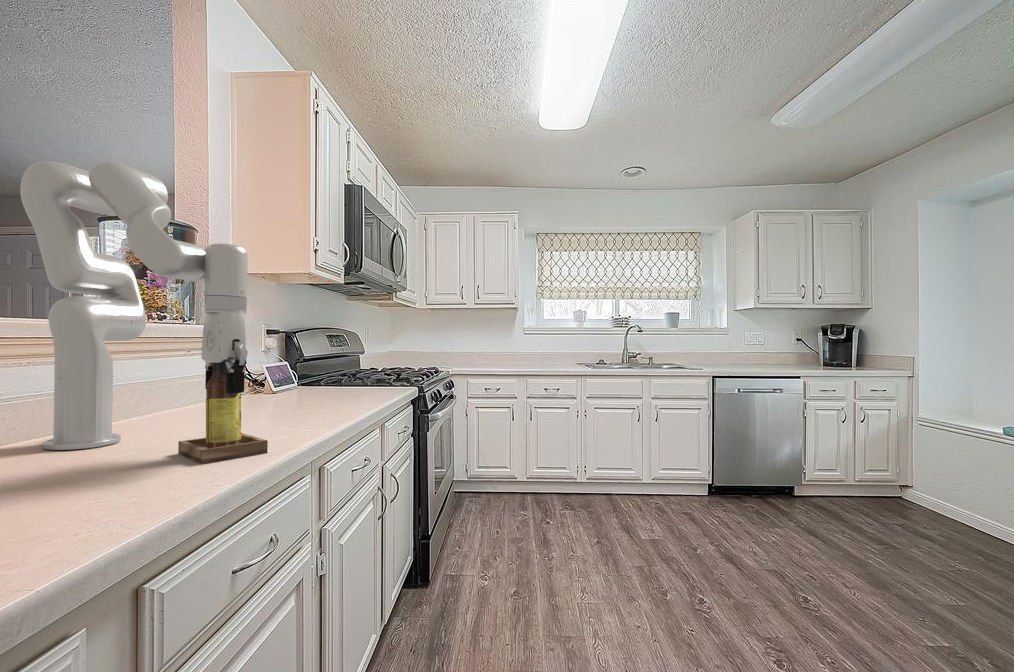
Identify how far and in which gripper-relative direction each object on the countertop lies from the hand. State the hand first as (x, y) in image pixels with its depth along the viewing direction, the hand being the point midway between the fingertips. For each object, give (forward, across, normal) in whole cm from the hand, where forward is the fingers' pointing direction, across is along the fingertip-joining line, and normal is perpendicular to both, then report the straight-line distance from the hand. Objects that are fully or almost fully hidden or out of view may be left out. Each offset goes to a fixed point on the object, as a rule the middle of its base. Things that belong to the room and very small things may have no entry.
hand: (224, 390), depth 100 cm
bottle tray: (+13, 0, 0) cm, 13 cm away
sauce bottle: (+12, 0, 0) cm, 12 cm away
